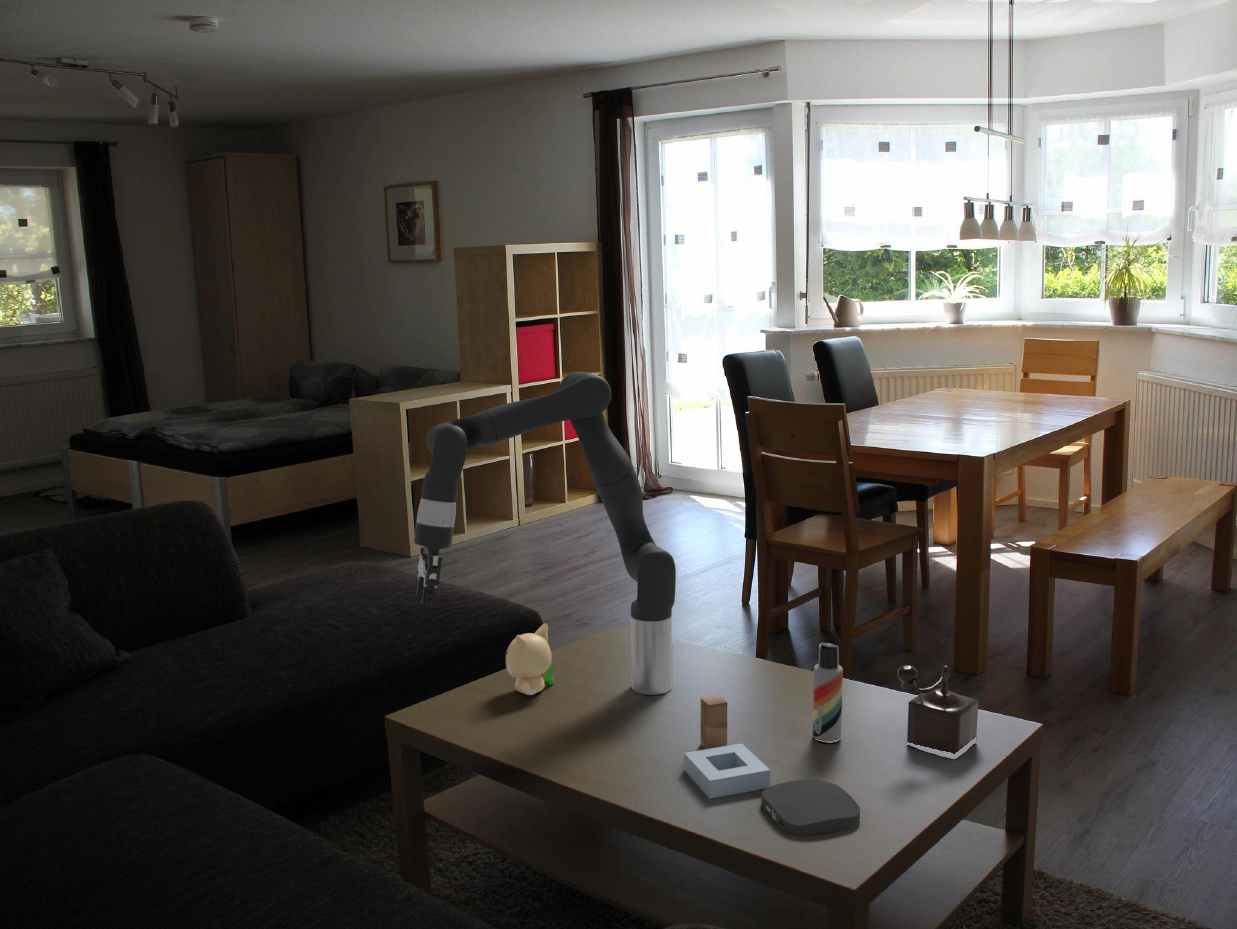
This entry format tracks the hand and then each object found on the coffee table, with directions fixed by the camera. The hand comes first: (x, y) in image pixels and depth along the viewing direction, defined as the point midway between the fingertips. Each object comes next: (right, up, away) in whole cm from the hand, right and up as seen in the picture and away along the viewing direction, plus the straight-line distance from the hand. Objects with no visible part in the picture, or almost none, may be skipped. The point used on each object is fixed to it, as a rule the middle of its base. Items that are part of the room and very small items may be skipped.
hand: (424, 602), depth 215 cm
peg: (+58, -29, -3) cm, 65 cm away
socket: (+59, -31, -16) cm, 69 cm away
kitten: (+19, -24, +28) cm, 41 cm away
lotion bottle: (+81, -28, +1) cm, 86 cm away
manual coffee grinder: (+101, -29, -4) cm, 106 cm away
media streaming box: (+73, -34, -28) cm, 85 cm away
